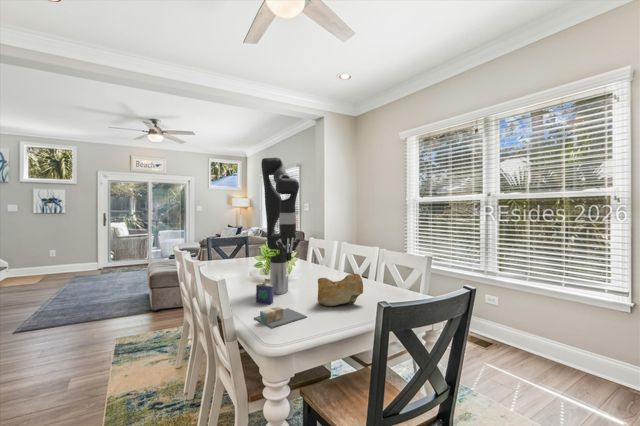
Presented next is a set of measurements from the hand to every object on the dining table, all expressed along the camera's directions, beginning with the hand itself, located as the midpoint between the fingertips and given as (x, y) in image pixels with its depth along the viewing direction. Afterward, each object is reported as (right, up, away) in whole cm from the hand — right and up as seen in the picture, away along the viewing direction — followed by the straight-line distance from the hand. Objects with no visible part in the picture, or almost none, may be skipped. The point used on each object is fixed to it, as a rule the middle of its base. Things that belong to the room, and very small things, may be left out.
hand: (288, 260), depth 140 cm
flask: (-14, -24, +15) cm, 31 cm away
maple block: (-3, -22, -6) cm, 23 cm away
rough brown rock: (+24, -24, +17) cm, 38 cm away
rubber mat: (-3, -24, -6) cm, 25 cm away
